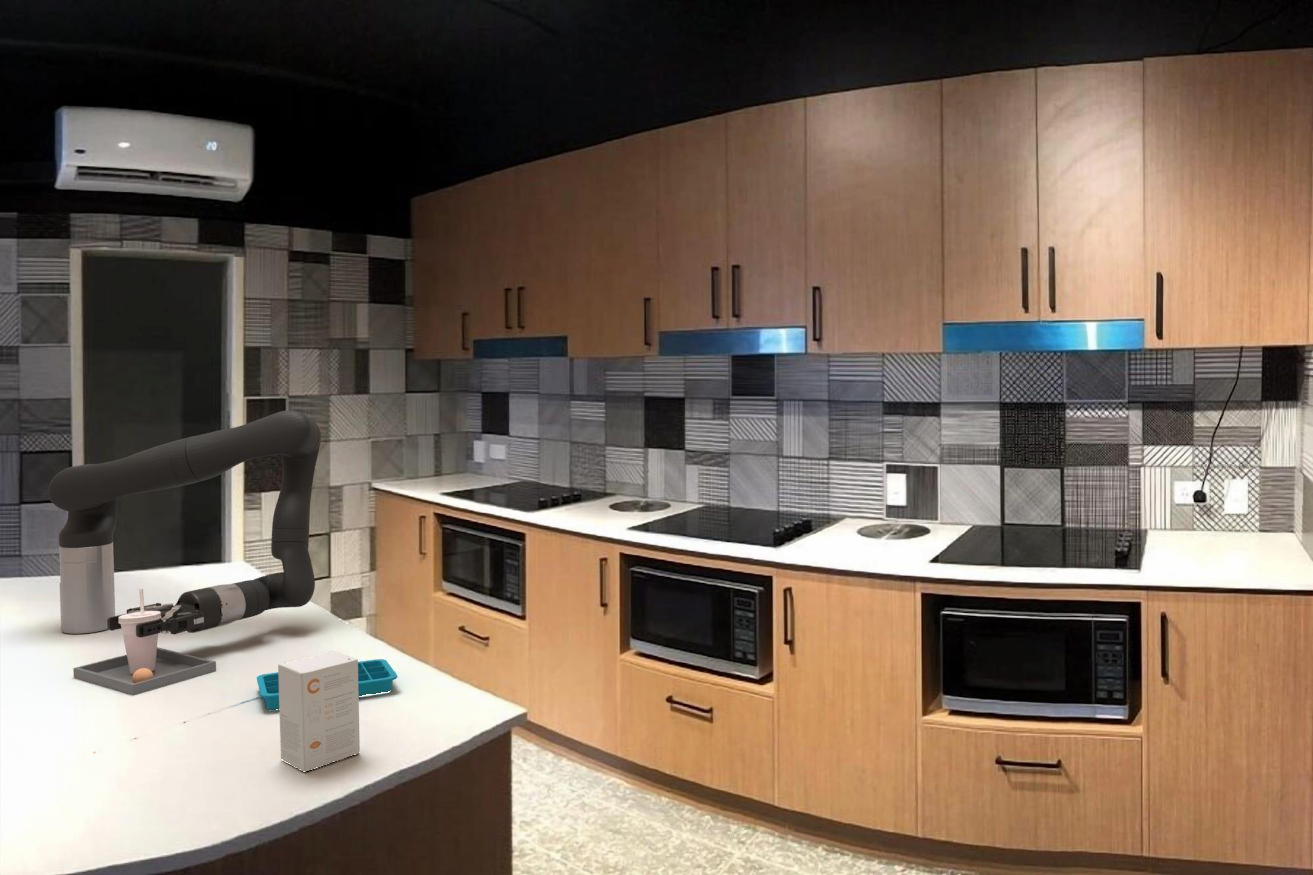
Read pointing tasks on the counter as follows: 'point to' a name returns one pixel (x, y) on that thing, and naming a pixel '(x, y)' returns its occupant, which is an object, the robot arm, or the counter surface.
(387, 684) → the ice cube tray
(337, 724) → the small box
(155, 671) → the tray
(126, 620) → the smoothie
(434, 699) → the counter surface
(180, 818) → the counter surface
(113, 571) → the robot arm
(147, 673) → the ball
